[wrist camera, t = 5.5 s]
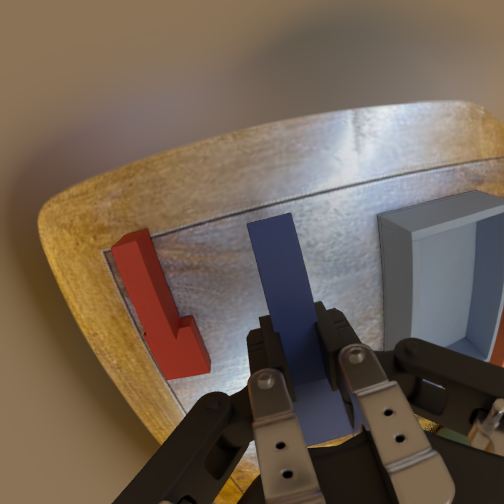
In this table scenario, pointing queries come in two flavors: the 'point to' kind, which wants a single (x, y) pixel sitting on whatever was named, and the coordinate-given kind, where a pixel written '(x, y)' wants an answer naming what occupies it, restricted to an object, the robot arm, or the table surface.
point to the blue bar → (297, 327)
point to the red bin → (499, 345)
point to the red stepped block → (159, 309)
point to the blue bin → (444, 273)
